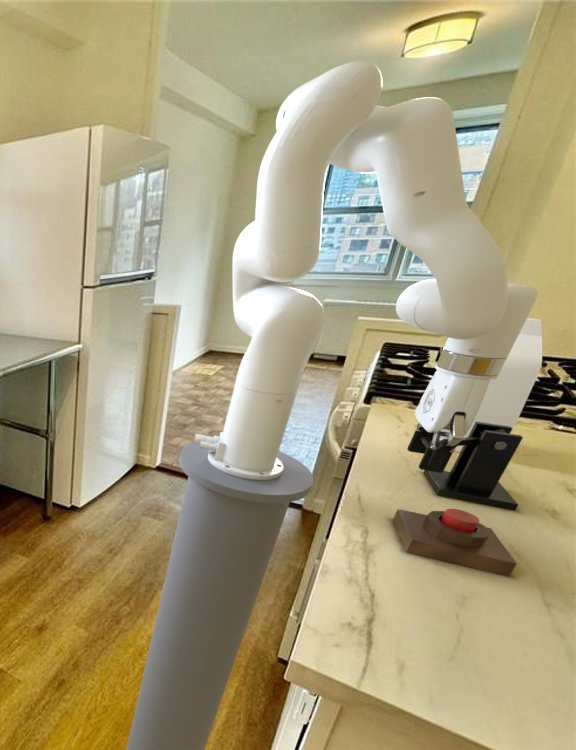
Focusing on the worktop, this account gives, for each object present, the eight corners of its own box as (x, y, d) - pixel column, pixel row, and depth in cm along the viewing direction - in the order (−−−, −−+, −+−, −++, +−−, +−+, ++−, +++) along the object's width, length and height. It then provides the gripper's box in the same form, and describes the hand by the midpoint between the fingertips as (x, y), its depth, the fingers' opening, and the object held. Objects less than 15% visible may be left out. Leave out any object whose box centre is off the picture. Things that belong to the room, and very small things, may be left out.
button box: (406, 552, 69) (417, 529, 67) (392, 520, 76) (402, 498, 74) (509, 576, 64) (524, 552, 63) (484, 540, 72) (497, 518, 70)
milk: (419, 443, 102) (477, 318, 90) (420, 426, 110) (472, 309, 98) (498, 460, 95) (571, 327, 83) (492, 441, 103) (558, 317, 91)
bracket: (436, 495, 83) (468, 433, 78) (422, 473, 90) (450, 414, 85) (515, 510, 79) (553, 445, 74) (494, 485, 86) (527, 425, 81)
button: (444, 528, 68) (449, 518, 67) (436, 516, 71) (442, 506, 70) (478, 536, 67) (483, 525, 66) (468, 522, 69) (474, 512, 69)
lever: (428, 457, 83) (428, 444, 82) (420, 445, 87) (419, 432, 87) (512, 451, 77) (512, 437, 77) (498, 438, 82) (498, 425, 81)
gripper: (425, 348, 86) (387, 438, 94) (456, 374, 72) (409, 477, 80) (480, 354, 83) (436, 446, 91) (524, 382, 69) (468, 488, 77)
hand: (424, 460), depth 86 cm, fingers open, 7 cm apart
